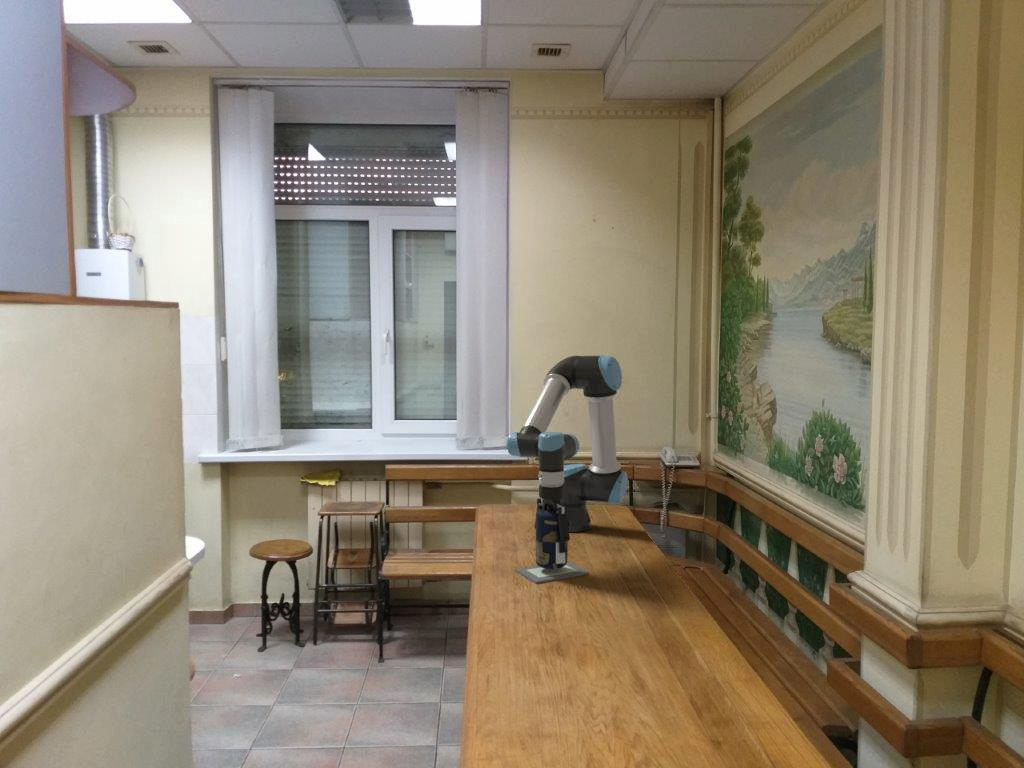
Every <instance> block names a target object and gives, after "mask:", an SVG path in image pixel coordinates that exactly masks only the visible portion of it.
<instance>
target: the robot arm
mask: <svg viewBox="0 0 1024 768" xmlns="http://www.w3.org/2000/svg"><path fill="white" fill-rule="evenodd" d="M622 379H623V376H622V369H621V366H620V362H619V361H618V359H616V357H614V356H610V355H609V356H607V355H603V354H602V355H572V356H568V357H566V358H563V359H562V360H560V361H559V362H557V363H556V364H554V366H552V368H550V370H549V371H548V372H547V374H546V375H545V377H544V379H543V387H542V390H541V391H540V393H539V395H538V397H537V398H536V401H535V403H534V404H533V406H532V408H531V410H530V412H529V414H528V416H527V418H526V420H525V422H524V423H523V426H522V427H521V429H520V431H519V432H518V431H516V432H511V433H510V434H509V435H508V436H507V439H506V450H507V452H508V454H509V455H510V456H512V457H519V458H536V459H538V476H537V478H538V483H539V486H538V497H539V498H536V505H537V507H536V512H537V511H538V510H539V509H543V510H547V511H548V512H549V513H552V512H554V513H557V516H558V524H559V527H557V526H556V537H557V540H556V541H555V542H556V564H560V563H565V542H566V541H570V540H571V537H570V533H577V532H578V533H580V532H581V533H582V532H586V531H589V530H591V528H592V520H591V517H590V513H589V512H588V511H589V510H588V507H587V502H595V503H604V504H620V503H621V502H623V500H624V498H625V496H626V492H627V488H628V479H629V477H628V473H627V472H626V471H624V470H622V465H621V463H620V462H618V461H617V447H616V446H617V444H616V432H615V431H616V428H615V414H614V413H615V412H614V397H615V396H616V395H617V394H618V390H620V389H621V387H622V384H623V383H622ZM574 389H576V390H583V392H582V393H583V396H584V397H585V398H586V399H587V400H588V412H589V414H588V415H589V427H590V428H589V429H590V442H591V443H590V444H591V456H592V457H591V459H592V463H590V465H589V466H588V468H587V465H586V464H585V463H584V464H583V463H572V464H566V465H565V461H566V460H569V459H571V458H573V457H574V456H575V455H576V454H578V452H579V450H580V442H579V440H578V438H577V437H576V436H575V435H574V434H572V433H563V432H559V431H547V430H548V428H549V426H550V424H551V422H552V420H553V418H554V416H555V414H556V412H557V410H558V408H559V406H560V403H562V401H563V400H562V399H563V398H564V396H567V395H568V394H569V392H570V390H574ZM534 529H535V530H536V518H535V521H534Z"/></svg>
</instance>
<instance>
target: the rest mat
mask: <svg viewBox="0 0 1024 768" xmlns="http://www.w3.org/2000/svg"><path fill="white" fill-rule="evenodd" d="M514 570H515V572H516V573H517V574H519V573H520V574H519V575H521V576H522V577H524V578H526V579H527V580H529V581H531V582H532V583H534V584H535V585H536V584H543V583H548V582H554V581H559V580H565V579H569V578H570V579H571V578H575V577H576V578H577V577H581V576H587V575H590V572H589V571H587V570H585V569H583V568H582V567H580V566H578V565H576V564H574V563H572V562H570V561H569V560H567V564H566V565H565V566H564V567H562V568H558V569H546V568H542V567H540V566H538V565H537V564H536V565H532V566H526V567H519V568H515V569H514Z"/></svg>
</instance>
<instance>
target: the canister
mask: <svg viewBox="0 0 1024 768" xmlns="http://www.w3.org/2000/svg"><path fill="white" fill-rule="evenodd" d="M535 519H536V529H535V564H536V565H538V566H540V567H542V568H546V569H558V568H562V567H564V566H565V565H566V564H567V561H568V550H569V549H568V548H569V547H568V545H569V544H568V541H566V542H565V563H560V564H556V542H555V541H556V540H557V537H556V526H557V527H559V524H558V516H557V513H554V512H552V513H549V512H548V511H547V510H543V509H539V510H538V511H537V510H536V512H535Z"/></svg>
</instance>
